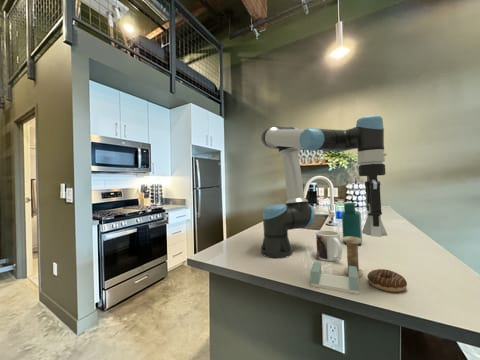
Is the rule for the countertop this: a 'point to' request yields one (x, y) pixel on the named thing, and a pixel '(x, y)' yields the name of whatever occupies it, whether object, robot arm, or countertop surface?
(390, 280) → the donut
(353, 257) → the bobbin
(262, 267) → the countertop surface
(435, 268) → the countertop surface
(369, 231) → the flask
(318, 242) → the mug
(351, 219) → the green bottle
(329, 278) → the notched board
